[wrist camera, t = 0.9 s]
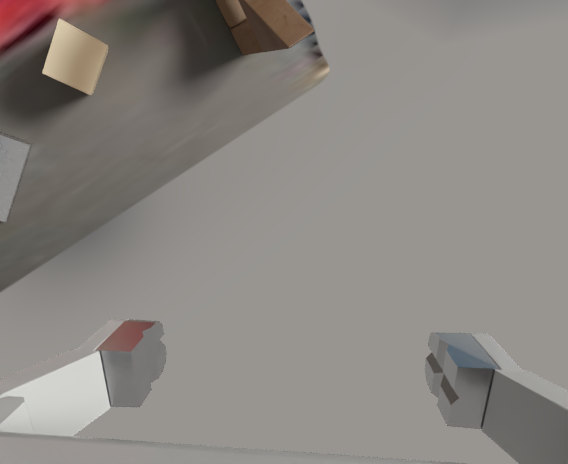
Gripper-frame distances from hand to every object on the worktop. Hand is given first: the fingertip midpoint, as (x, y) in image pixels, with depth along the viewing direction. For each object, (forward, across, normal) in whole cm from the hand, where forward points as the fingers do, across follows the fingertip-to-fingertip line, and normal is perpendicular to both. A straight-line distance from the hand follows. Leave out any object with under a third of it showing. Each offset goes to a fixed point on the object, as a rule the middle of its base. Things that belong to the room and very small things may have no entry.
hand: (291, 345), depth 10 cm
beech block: (+31, +26, -15) cm, 43 cm away
